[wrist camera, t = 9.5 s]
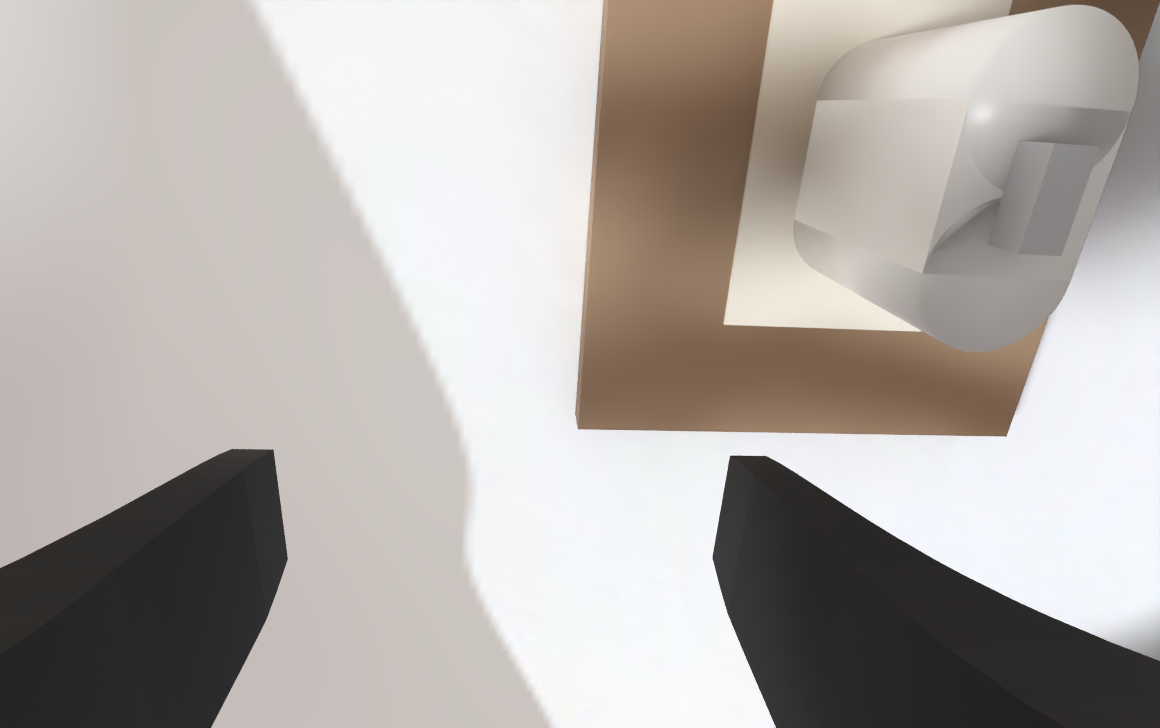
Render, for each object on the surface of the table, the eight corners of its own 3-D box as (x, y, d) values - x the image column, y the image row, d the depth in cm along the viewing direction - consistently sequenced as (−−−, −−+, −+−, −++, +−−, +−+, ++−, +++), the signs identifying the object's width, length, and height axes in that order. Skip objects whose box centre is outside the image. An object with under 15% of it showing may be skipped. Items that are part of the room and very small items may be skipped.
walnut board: (985, 422, 22) (1008, 437, 21) (575, 414, 20) (578, 430, 19) (1180, -158, 16) (1225, -175, 15) (618, -226, 14) (626, -252, 13)
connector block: (884, 278, 18) (1076, 370, 12) (783, 273, 18) (925, 365, 12) (943, 44, 16) (1217, 6, 10) (829, 34, 16) (1035, -12, 9)
